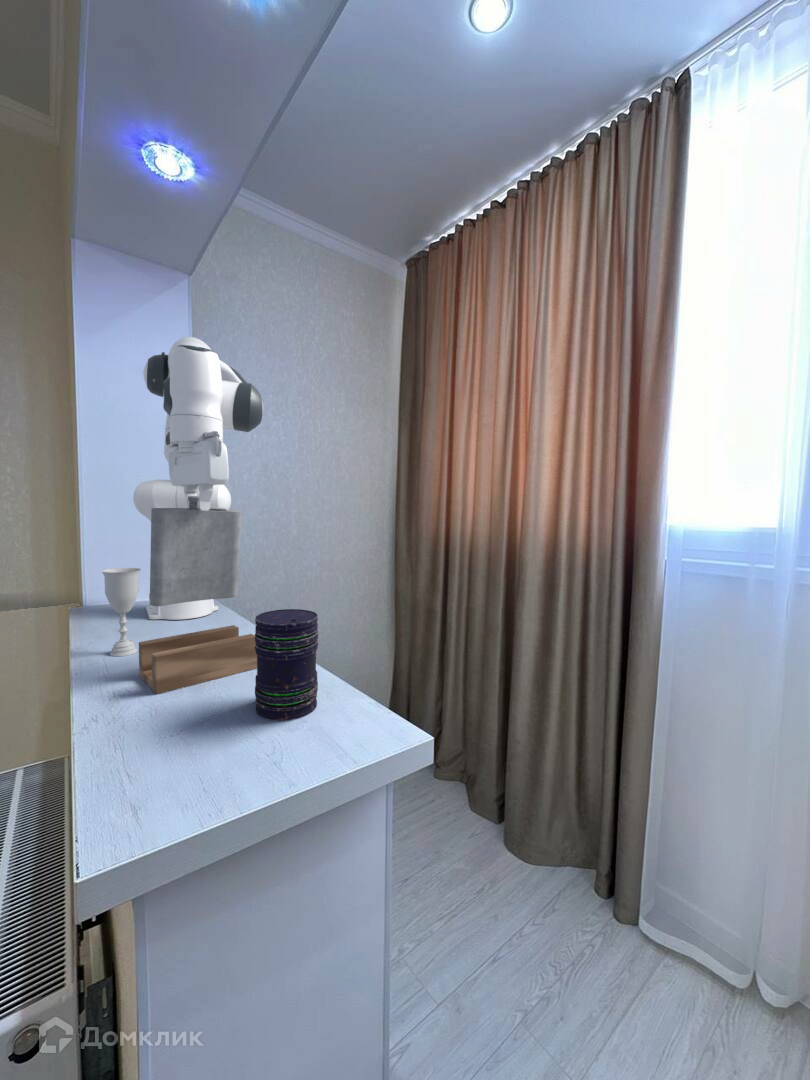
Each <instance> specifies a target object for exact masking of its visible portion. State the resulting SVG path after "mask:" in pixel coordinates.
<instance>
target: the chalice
mask: <svg viewBox="0 0 810 1080" xmlns="http://www.w3.org/2000/svg"><path fill="white" fill-rule="evenodd" d="M141 570H142V569H141V568H138V567H119V568H118V567H116V568H107V569H106V568H105V569H102V570H101V573H102V575H103V576H104V594H105V597H106V599H107V601H108V603H109V605H110V606H111V608H112V609H113V611H114V612H115V613H117V614H119V617H120V618H119V621H118V624H119V625H120V626H119V627H120V628H119V630H118V633H120V638H119V640H118V641H116V642H115V643H114V644H113V647H112V648H111V652H110V653H109V656H110V657H126V656H130V655H134V654H136V653H137V652H138V649H137V648H136V645H135V644H134V643H135V642H133V641H132V640H129V639H128V638H127V632H128V631H129V629H128V628H127V627H126V625H127V623H128V620H127V618H126V615H127V613H129V612H131V610H132V609H133V606H134V604H135V602H136V601H137V599H138V598H137V597H138V595H139V592H140V584H139V583H140V582H139V578H140V577H139V574H140V573H141Z"/></svg>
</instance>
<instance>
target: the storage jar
mask: <svg viewBox="0 0 810 1080" xmlns="http://www.w3.org/2000/svg"><path fill="white" fill-rule="evenodd" d="M254 618H255V620H254V622H255V631H254V632H255V633H254V635H255V642H256V643H255V652H256V654H257V669H256V675H255V685H254V697H255V703H256V704H255V714H256V715H257V716H258V717H260V718H261V719H263V720H267V721H272V722H287V721H293V720H299V719H302V718H303V717H306V716H309V715H310V714H312V713H313V712H314V711H315V710H316V709H317V707H318V701H317V699H318V698H317V697H318V689H319V685H318V684H319V683H318V671H317V650H318V646H319V642H318V641H319V640H318V639H319V630H318V626H319V625H318V620H319V617H318V613H317V612H314V611H312V610H308V609H298V608H297V609H295V608H293V609H292V608H289V609H288V608H287V609H286V608H285V609H275V610H270V611H264V612H261V613H259V614H256V616H255V617H254Z"/></svg>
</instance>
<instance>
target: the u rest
mask: <svg viewBox="0 0 810 1080" xmlns="http://www.w3.org/2000/svg"><path fill="white" fill-rule="evenodd" d="M239 630H240V628H239V627H238V626H236V625H234V624H233V625H227V626H223V627H222V626H221V627H216V628H211V629H204V630H198V631H194V632H187V633H183V634H182V633H181V634H175V635H172V636H165V637H160V638H154V639H149V640H142V641H138V667H139V669H138V670H139V677H140V679H142V680H143V682H145V683H147V684H148V685H149V686H150V687H151V688H152V689H151V688H150V687H149V686H148V685H147V684H146V685H147V686H148V687H149V688H150V689H151V690H152V691H153V692H154V693H155V694H156V695H161V694H164V693H167V692H166V691H168V692H170V691H169V690H172V691H174V690H173V689H176V690H178V688H180V689H183V688H182V687H184V688H187V687H190V685H191V686H194V684H195V685H198V683H199V684H202V682H203V683H206V682H205V681H207V682H210V680H211V681H213V680H217V679H222V678H224V677H230V676H233V674H234V675H237V674H236V673H238V674H240V672H241V673H245V672H248V670H249V671H252V669H253V670H257V669H256V668H257V654H256V652H255V643H256V642H255V634H253V633H249V634H244V635H240V634H239ZM244 671H245V672H244ZM229 675H230V676H229ZM186 686H187V687H186ZM163 692H164V693H163Z"/></svg>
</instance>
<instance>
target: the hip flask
mask: <svg viewBox="0 0 810 1080" xmlns="http://www.w3.org/2000/svg"><path fill="white" fill-rule="evenodd" d="M198 500H199V496H188V501H190V503H189V507H190V508H152V509H151V521H150V524H151V525H150V559H149V560H150V561H149V562H150V563H149V564H150V565H149V567H150V571H149V573H150V574H149V576H150V577H149V593H150V600H149V605H152V606H165V605H171V604H177V603H184V602H192V601H200V600H210V599H213V600H222V599H233V598H237V597H238V596H239V595H238V594H239V593H238V592H239V576H240V575H239V574H240V573H239V572H240V556H241V555H240V552H241V551H240V550H241V549H240V548H241V536H242V535H241V534H242V533H241V531H242V515H243V514H242V513H243V512H242V510H239V509H229V510H227V509H225V508H216V507H210V509H209V510H198V509H197V501H198Z"/></svg>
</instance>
